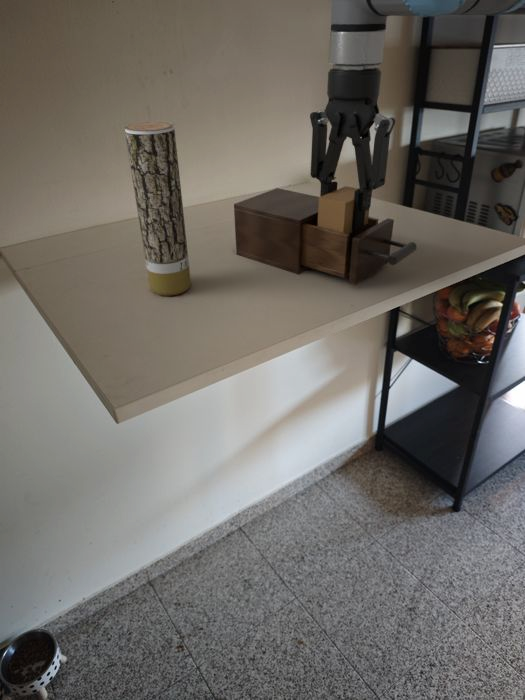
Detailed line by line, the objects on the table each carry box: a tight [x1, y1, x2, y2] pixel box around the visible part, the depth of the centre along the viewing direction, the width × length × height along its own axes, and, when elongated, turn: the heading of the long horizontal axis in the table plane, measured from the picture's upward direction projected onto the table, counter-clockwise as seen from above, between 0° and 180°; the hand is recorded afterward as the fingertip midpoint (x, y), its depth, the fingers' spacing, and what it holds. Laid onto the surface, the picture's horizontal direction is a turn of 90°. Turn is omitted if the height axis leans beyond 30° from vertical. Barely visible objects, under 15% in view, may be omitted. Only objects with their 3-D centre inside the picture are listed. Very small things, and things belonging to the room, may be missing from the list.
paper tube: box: [124, 121, 192, 297], centre depth 76 cm, size 7×7×25 cm
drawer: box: [301, 216, 418, 286], centre depth 84 cm, size 19×11×8 cm, turn 51°
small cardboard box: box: [318, 185, 370, 234], centre depth 82 cm, size 8×5×6 cm, turn 141°
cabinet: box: [233, 187, 320, 275], centre depth 92 cm, size 15×13×10 cm
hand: (343, 225), depth 84 cm, fingers closed on small cardboard box, 5 cm apart
